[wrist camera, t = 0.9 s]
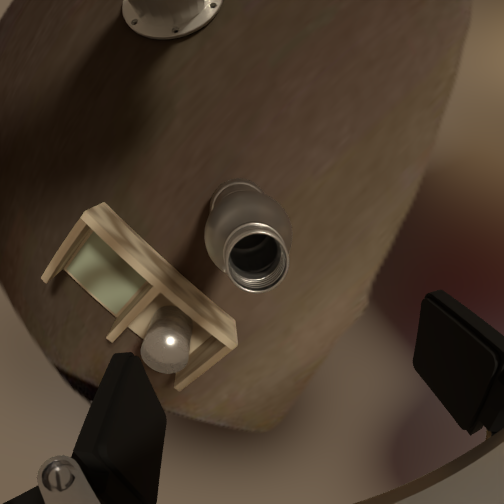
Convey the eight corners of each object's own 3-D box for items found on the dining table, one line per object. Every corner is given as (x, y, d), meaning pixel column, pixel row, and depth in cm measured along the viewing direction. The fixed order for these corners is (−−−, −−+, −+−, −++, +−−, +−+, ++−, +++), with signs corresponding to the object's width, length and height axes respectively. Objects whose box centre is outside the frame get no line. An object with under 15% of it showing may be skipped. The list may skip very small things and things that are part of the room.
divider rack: (60, 261, 35) (40, 278, 30) (104, 201, 34) (85, 210, 28) (183, 365, 42) (179, 391, 37) (235, 320, 40) (237, 345, 35)
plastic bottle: (218, 238, 37) (218, 328, 18) (203, 184, 35) (183, 220, 16) (270, 224, 37) (322, 300, 18) (257, 170, 35) (302, 190, 16)
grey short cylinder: (146, 308, 38) (134, 338, 31) (187, 302, 38) (181, 332, 31) (158, 343, 40) (149, 375, 33) (197, 338, 40) (193, 370, 33)
